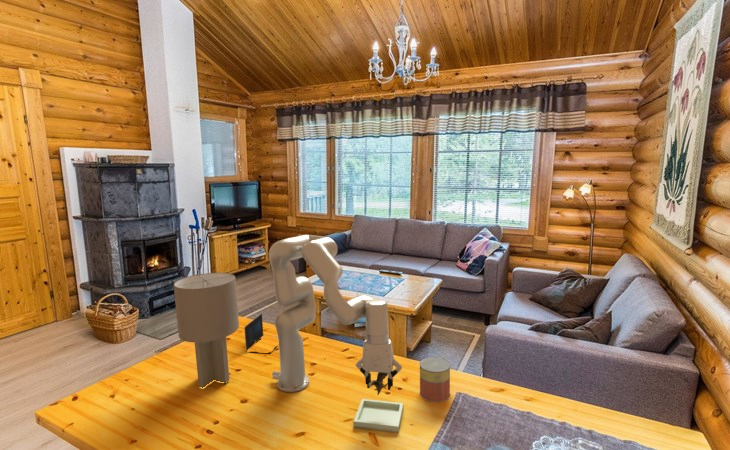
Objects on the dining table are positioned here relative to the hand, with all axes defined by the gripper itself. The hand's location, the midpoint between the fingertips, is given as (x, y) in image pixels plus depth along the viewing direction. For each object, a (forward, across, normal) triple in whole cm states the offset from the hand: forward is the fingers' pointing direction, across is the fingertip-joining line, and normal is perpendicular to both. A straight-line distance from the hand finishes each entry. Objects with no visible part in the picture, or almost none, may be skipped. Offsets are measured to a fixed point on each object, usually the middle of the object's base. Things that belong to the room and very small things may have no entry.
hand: (379, 386), depth 133 cm
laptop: (+11, -66, +46) cm, 81 cm away
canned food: (+12, +18, +18) cm, 28 cm away
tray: (+12, 0, 0) cm, 12 cm away
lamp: (+11, -72, +12) cm, 74 cm away
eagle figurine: (+2, 0, +2) cm, 3 cm away
